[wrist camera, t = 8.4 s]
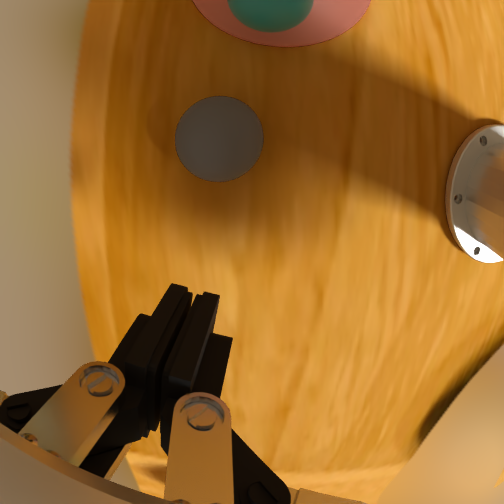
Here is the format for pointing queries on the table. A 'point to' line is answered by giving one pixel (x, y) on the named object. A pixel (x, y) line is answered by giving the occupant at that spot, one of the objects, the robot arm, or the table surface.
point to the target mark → (306, 33)
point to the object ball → (270, 13)
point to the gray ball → (219, 138)
